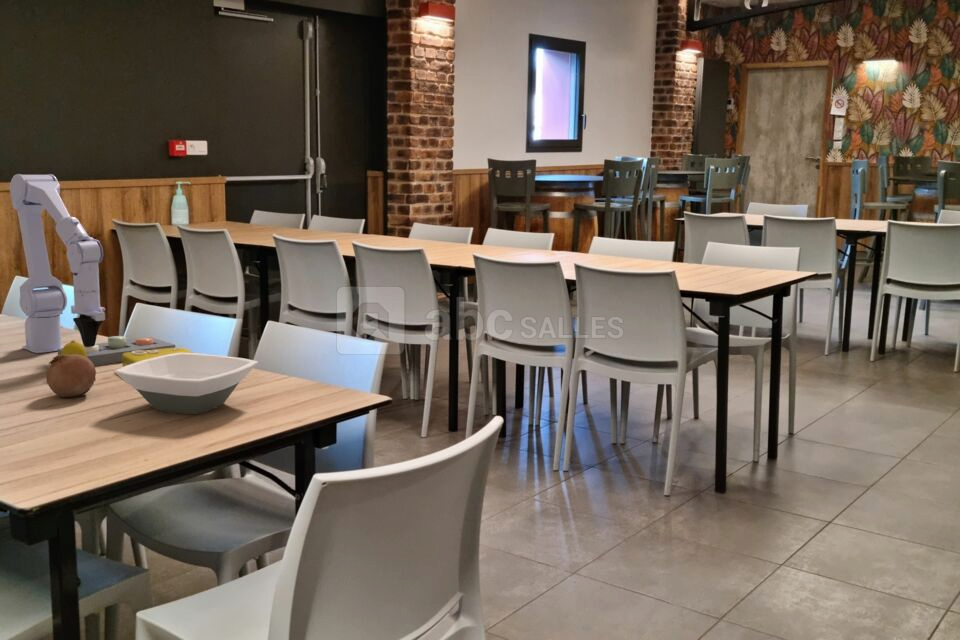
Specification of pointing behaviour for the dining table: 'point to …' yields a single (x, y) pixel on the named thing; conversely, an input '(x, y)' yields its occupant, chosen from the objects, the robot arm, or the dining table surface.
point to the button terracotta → (143, 341)
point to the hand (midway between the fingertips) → (89, 346)
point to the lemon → (74, 349)
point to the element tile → (149, 354)
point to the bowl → (186, 380)
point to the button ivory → (92, 348)
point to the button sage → (116, 342)
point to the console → (121, 351)
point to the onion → (70, 375)
